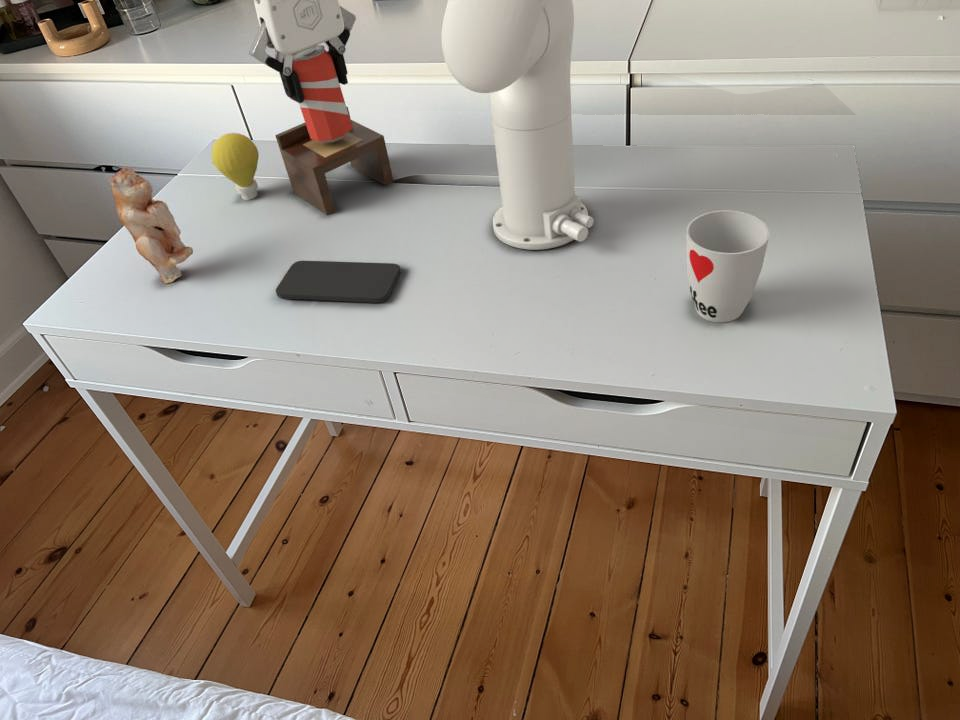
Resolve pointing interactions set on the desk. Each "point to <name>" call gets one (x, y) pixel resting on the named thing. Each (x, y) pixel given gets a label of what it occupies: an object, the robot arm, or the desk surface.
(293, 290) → the phone
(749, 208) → the desk surface
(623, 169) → the desk surface
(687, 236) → the cup
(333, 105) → the beverage can
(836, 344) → the desk surface
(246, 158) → the light bulb
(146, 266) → the desk surface
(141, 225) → the figurine
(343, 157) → the miniature wooden desk
